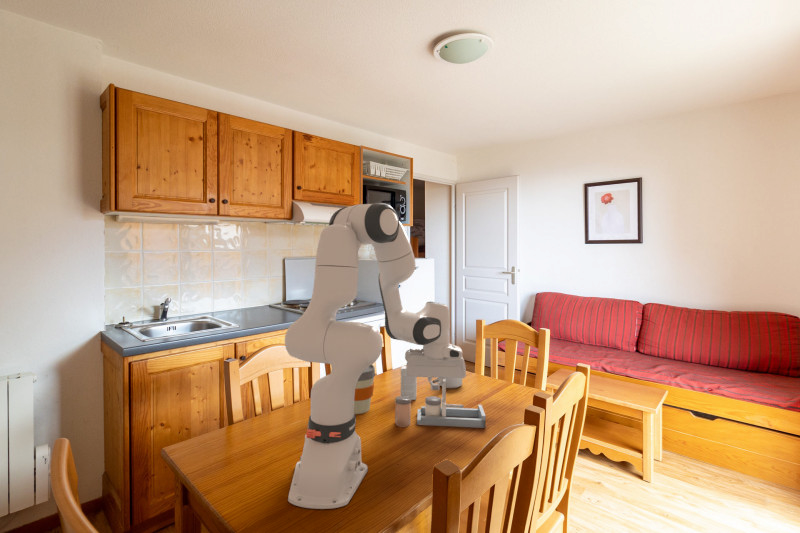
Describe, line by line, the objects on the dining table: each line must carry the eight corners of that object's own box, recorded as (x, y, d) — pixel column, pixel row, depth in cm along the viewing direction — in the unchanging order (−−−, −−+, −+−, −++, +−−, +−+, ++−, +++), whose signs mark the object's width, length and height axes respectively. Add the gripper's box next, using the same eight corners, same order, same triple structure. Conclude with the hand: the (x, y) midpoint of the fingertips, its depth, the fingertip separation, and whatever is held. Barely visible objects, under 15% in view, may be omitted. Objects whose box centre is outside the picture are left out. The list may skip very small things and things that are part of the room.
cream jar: (441, 423, 127) (441, 402, 127) (424, 422, 127) (425, 402, 127) (440, 416, 132) (440, 396, 132) (424, 415, 133) (425, 395, 132)
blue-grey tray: (485, 427, 124) (485, 415, 124) (417, 424, 126) (417, 412, 125) (481, 416, 133) (481, 404, 133) (417, 413, 135) (417, 401, 134)
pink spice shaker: (410, 427, 124) (410, 402, 123) (394, 426, 124) (394, 401, 124) (410, 420, 129) (411, 396, 128) (395, 419, 129) (395, 395, 129)
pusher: (463, 423, 126) (464, 384, 126) (441, 422, 127) (442, 383, 126) (462, 416, 132) (463, 378, 131) (441, 415, 132) (442, 377, 132)
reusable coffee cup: (357, 419, 129) (358, 375, 128) (332, 409, 136) (332, 368, 135) (381, 407, 139) (382, 366, 138) (356, 398, 146) (357, 360, 145)
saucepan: (420, 391, 155) (421, 378, 155) (443, 378, 171) (444, 366, 171) (445, 398, 148) (446, 384, 148) (467, 384, 165) (467, 371, 165)
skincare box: (416, 396, 150) (417, 366, 150) (415, 400, 146) (416, 369, 145) (401, 395, 151) (401, 365, 150) (400, 399, 146) (400, 368, 146)
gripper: (404, 350, 126) (404, 391, 127) (467, 352, 125) (466, 394, 126) (405, 345, 132) (404, 385, 133) (465, 347, 131) (464, 387, 132)
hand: (435, 389), depth 129 cm, fingers closed
